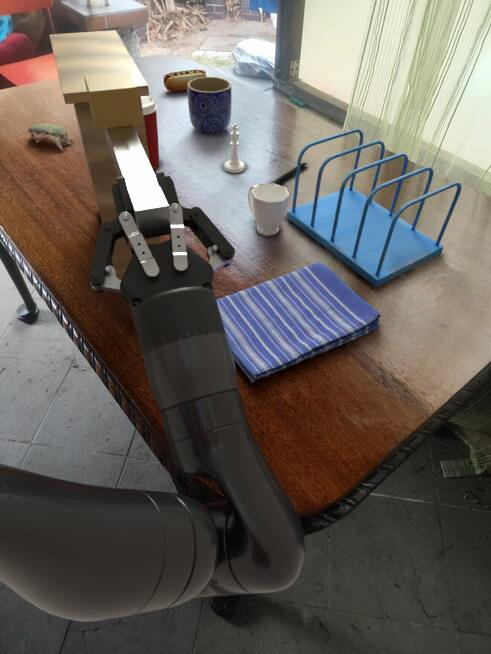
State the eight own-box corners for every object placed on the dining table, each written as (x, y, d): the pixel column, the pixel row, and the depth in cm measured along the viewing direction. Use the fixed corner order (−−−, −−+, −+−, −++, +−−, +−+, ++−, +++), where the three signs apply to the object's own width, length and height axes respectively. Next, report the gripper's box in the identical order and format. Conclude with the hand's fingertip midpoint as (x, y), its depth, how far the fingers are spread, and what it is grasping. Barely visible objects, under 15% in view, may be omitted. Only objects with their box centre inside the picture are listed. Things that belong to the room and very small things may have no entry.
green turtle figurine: (34, 152, 106) (30, 129, 103) (29, 142, 114) (25, 120, 111) (73, 151, 110) (70, 129, 107) (66, 141, 117) (63, 120, 115)
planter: (205, 142, 114) (203, 95, 105) (181, 127, 119) (178, 82, 111) (239, 131, 118) (240, 86, 110) (215, 118, 124) (214, 73, 116)
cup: (264, 244, 85) (266, 206, 79) (234, 219, 91) (234, 182, 85) (293, 232, 88) (297, 195, 82) (262, 208, 93) (265, 172, 88)
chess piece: (232, 160, 108) (232, 117, 100) (249, 166, 106) (250, 123, 98) (219, 168, 105) (218, 124, 97) (236, 175, 103) (237, 131, 96)
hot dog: (209, 89, 138) (208, 72, 135) (168, 95, 134) (166, 77, 131) (203, 84, 141) (202, 66, 138) (162, 90, 137) (160, 72, 134)
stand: (172, 279, 78) (148, 85, 55) (113, 291, 75) (62, 93, 53) (143, 204, 94) (115, 29, 71) (94, 212, 91) (49, 34, 69)
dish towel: (383, 328, 71) (387, 315, 69) (252, 387, 62) (253, 375, 60) (319, 266, 81) (321, 254, 79) (198, 310, 73) (198, 297, 70)
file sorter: (285, 218, 91) (293, 144, 80) (348, 194, 98) (363, 122, 87) (375, 288, 77) (400, 209, 66) (441, 254, 84) (473, 178, 73)
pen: (308, 159, 106) (304, 160, 107) (267, 185, 97) (263, 186, 98) (309, 164, 106) (305, 165, 107) (269, 190, 98) (265, 191, 99)
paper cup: (157, 154, 109) (150, 92, 98) (168, 168, 104) (161, 105, 94) (125, 160, 106) (114, 97, 96) (135, 175, 102) (124, 111, 91)
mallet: (182, 232, 42) (176, 160, 37) (128, 242, 41) (114, 169, 36) (137, 133, 57) (128, 72, 52) (97, 138, 55) (83, 76, 50)
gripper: (271, 321, 38) (215, 143, 41) (100, 363, 34) (54, 165, 38) (252, 341, 45) (206, 188, 48) (109, 377, 41) (70, 210, 45)
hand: (140, 179), depth 43 cm, fingers closed on mallet, 3 cm apart
